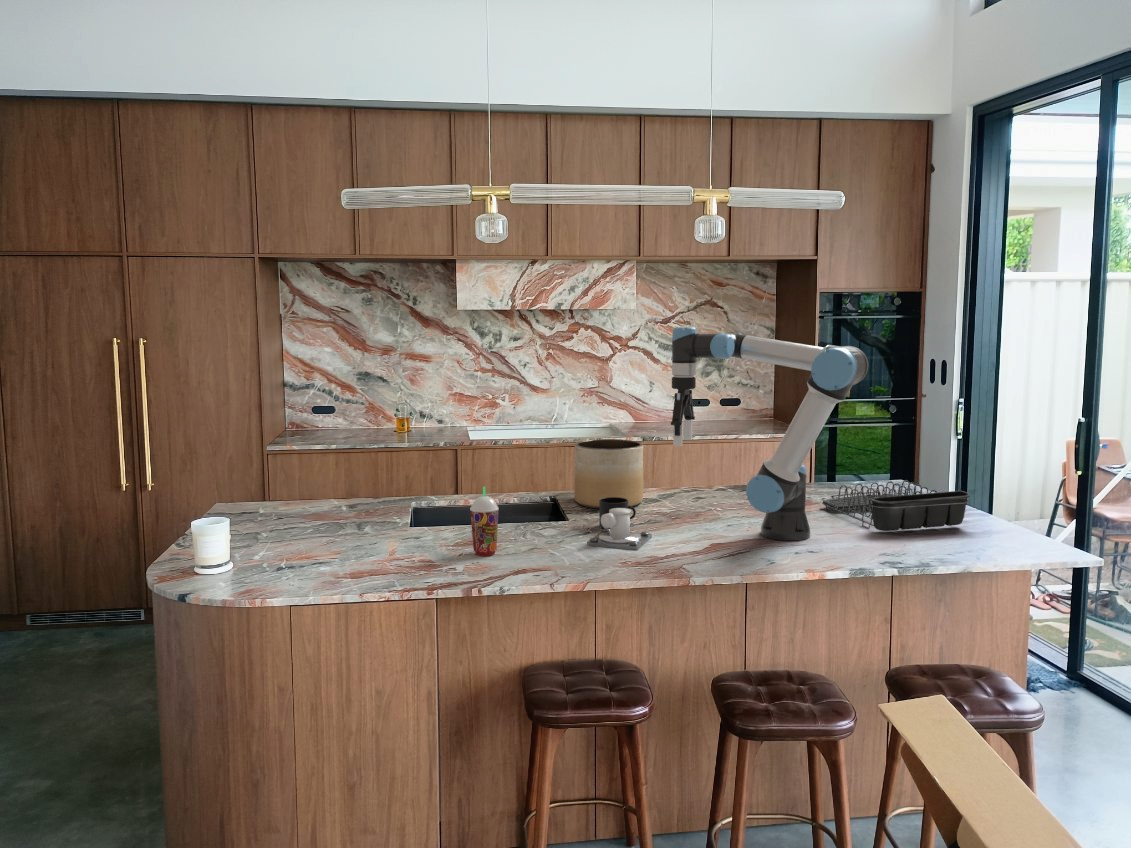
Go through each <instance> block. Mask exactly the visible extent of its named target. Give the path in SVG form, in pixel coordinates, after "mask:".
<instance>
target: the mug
mask: <svg viewBox="0 0 1131 848" xmlns="http://www.w3.org/2000/svg"><path fill="white" fill-rule="evenodd" d="M613 508H626V509H630V510H631V511H632V516H631V515H630V520H633V519H634V518H635V517H636V513H637V511H636V509H635V506H633V507H632V506H628V500H627V499H625V498H619V497H607V498H602V499H600V500H599V509H598V510H599V513H598V514H599V516H598V517H599V519H598V520H599V523H598V524H599V525H598V526H599V528H600V529H602V530H603V529H605V528H604V527H603V526H602V524H601V516H602V515H603V514H607V513H609V510H610V509H613ZM608 529H610V528H608Z"/></svg>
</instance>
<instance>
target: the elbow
mask: <svg viewBox="0 0 1131 848" xmlns="http://www.w3.org/2000/svg"><path fill="white" fill-rule="evenodd" d="M631 512H632V509H626V508H613V509H610V510H609V513H607V514H603V515H602V516H601V524H602V526H603V527H604V528H606V529H607V528H610V537H612V538H619V539H622V538H628V537H630V532H631V530H630V529H631V526H630V524H631V521H630V520H631V519H630V517H631V514H632V513H631Z"/></svg>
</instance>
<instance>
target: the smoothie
mask: <svg viewBox="0 0 1131 848" xmlns="http://www.w3.org/2000/svg"><path fill="white" fill-rule="evenodd" d="M499 508H500V507H499V506H498V505H497V503H496V500H494V498H492V497H491V496H488V495H486V486H483V487H482V495H481V496H478V497H477V498H475V500H474V501H473V502H472V504H471V506H470V508H469V510H470V520H471V521H470V523H471V535H472V545H473V546H472V547H473V548H472V549H473V551H474V552H475V555H476V556H478V557H490V556H493V555H494V554H495V553H496V551H497V550H498V549H497V547H498V528H499V527H498V525H499V510H500V509H499Z"/></svg>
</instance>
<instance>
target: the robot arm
mask: <svg viewBox="0 0 1131 848" xmlns="http://www.w3.org/2000/svg"><path fill="white" fill-rule="evenodd" d="M671 337H672V338H671V339H672V340H671V343H672V344H671V346H672V347H671V348H672V349H671V352H672V353H671V355H672V357H671V358H672V359H671V365H670V366H669V367H670V369H671V375H672V377H671V389H673V390H677V393H676V392H675V393H674V401H673V402H674V403H673V409H672V410H673V411H672V418H671V422H670V425H671V426H673V433H672V435H673V440H672V441H673V442H672V443H673V447H683V441H692V440H693V420H695V419H696V417H695V414H694V413H695V411H694V403H693V390H694V389H696V385H697V384H696V381H697V380H696V377H695V376H696V375H697V358H698V359H700V358H702V359H717V360H721V359H722V360H723V359H730V358H734V359H735V358H736V359H742V360H743V359H744V360H749V361H754V362H760V363H766V364H772V365H777V366H781V367H788V368H794V369H799V370H805V371H810V375H809V377H808V380H807V381H806V384H807V387H808V391H807V392H806V394H805V396H804V397H803V400H802V402H801V403H800V405H799V408H798V409H797V411H796V413H795V415H794V417H793V418H792V419H791V420H792V421H791V422H790V423H789V426H788V427H787V429H786V431H785V433H784V435H783V436H782V438H781V441H780V442H779V444H778V446H777V448H776V450H775V452H774V454H773V455H772V457H771V458H769V459H765V460H763V463H762V465H761V467H760V469H759V470H758V473H757V474H756V475H754V476H753V477H751V479H750V480H749V481H748V482H747V484H746V487H745V493H746V495H745V496H746V497H747V498H746V499H747V501H748V502H749V504H750V505H751V507H752V508H754V509H755V510H756V511H758V512H760V513H764V514H765V515H764V518H763V520H762V524H761V526H760V534H761V536H763V537H765V538H769V539H772V540H773V539H774V540H779V541H801V540H806V539H809V538H810V536H811V528H810V524H809V520H808V517H807V514H806V494H807V493H806V492H807V477H808V476H807V468H806V465H804V462H805V461H806V458H807V457H808V455H809V453H810V451H811V449H812V448H813V446H814V444H815V442H816V441H817V438H818V437H819V435H820V433H821V431H822V430H823V428H824V426H825V424H826V423H827V421H828V419H829V418H830V415H831V413H832V411H833V410H834V408H835V407H836V404H838V403H841V402H844V401H845V400H846V398H847V396H848V394H849V392H850V391H851V389H852V388H853V386H855V385H857V384H858V383H860V382H862V381H863V380H864V378H865V377H866V375H867V373H868V371H869V360H868V358H867V356H866V353H865V352H864V351H862V350H861V349H860V348H858V347H855V346H852V345H844V346H842V345H841V346H840V345H833V344H827V345H826V346H824V347H822V346H815V345H811V344H810V345H809V344H804V343H798V342H792V341H785V340H778V339H772V338H768V337H767V338H766V337H761V336H755V335H754V336H753V335H747V334H742V333H741V332H740V333H739V332H737V331H731V332H726V333H698V332H697V328H696V327H693V326H691V327H690V326H689V327H688V326H678V327H677V326H676V327H674V328H673V330H672V336H671ZM682 424H683V425H682Z"/></svg>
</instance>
